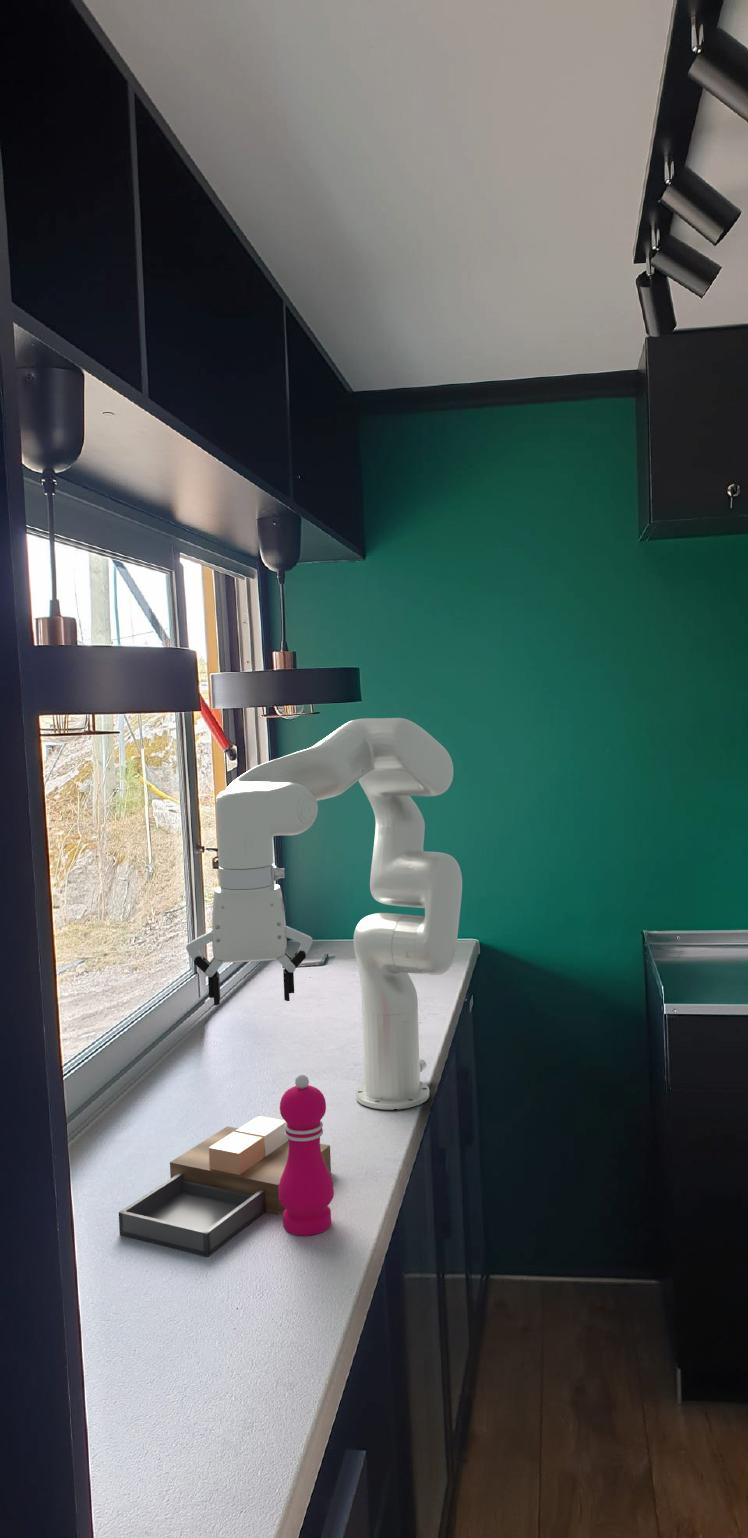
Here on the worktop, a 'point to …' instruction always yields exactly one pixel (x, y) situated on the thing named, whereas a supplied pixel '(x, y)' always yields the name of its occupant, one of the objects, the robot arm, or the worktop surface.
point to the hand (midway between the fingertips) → (252, 1000)
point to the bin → (190, 1215)
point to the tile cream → (266, 1132)
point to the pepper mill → (305, 1162)
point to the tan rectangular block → (236, 1153)
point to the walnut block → (248, 1182)
